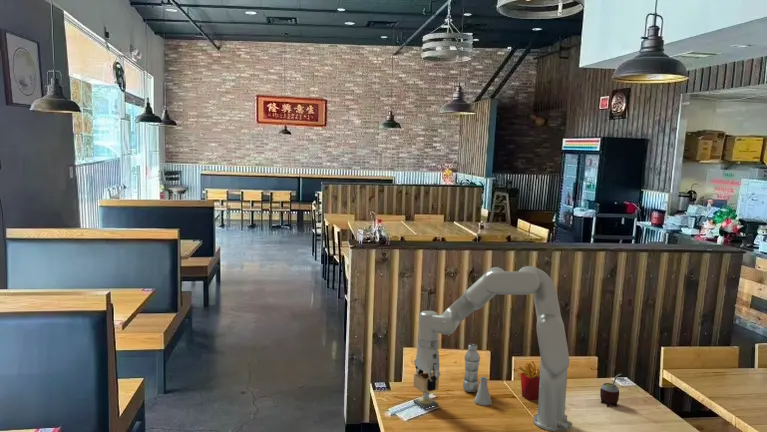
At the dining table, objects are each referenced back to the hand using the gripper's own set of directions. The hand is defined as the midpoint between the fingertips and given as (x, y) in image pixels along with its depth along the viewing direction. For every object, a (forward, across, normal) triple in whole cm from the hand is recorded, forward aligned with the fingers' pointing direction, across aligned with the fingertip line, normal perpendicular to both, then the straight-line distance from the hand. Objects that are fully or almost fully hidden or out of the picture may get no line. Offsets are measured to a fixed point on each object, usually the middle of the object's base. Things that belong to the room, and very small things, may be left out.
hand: (425, 386), depth 208 cm
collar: (+1, 0, 0) cm, 1 cm away
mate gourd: (+7, -35, -67) cm, 76 cm away
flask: (+8, -9, -22) cm, 25 cm away
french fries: (+7, -14, -42) cm, 45 cm away
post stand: (+7, 0, 0) cm, 7 cm away
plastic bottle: (+8, +2, -25) cm, 26 cm away
